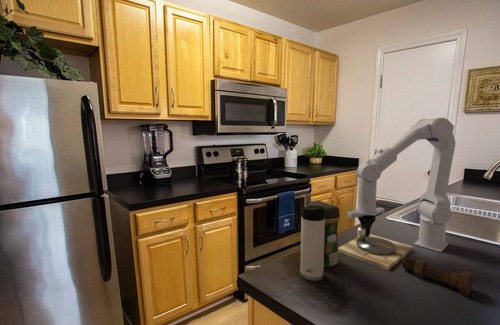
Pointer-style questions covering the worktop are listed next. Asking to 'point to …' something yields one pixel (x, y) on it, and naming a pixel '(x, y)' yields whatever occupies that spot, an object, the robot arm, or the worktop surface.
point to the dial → (374, 243)
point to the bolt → (440, 274)
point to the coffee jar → (329, 232)
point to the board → (376, 259)
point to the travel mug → (312, 242)
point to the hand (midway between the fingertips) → (365, 235)
